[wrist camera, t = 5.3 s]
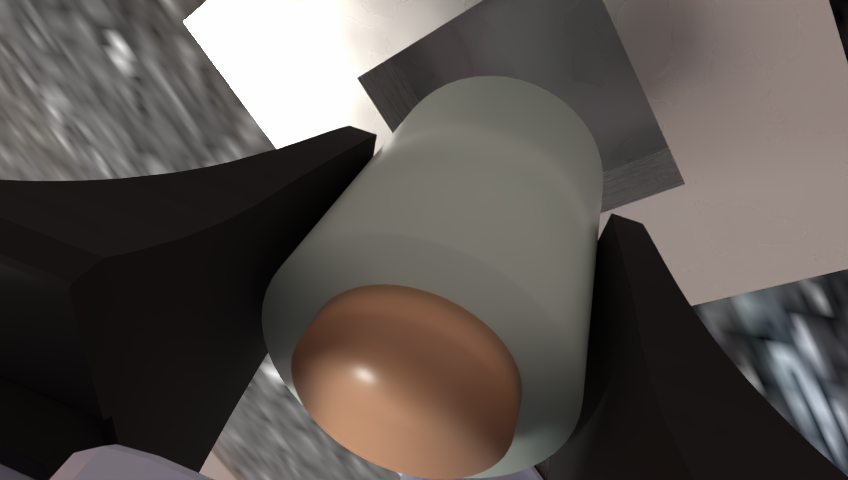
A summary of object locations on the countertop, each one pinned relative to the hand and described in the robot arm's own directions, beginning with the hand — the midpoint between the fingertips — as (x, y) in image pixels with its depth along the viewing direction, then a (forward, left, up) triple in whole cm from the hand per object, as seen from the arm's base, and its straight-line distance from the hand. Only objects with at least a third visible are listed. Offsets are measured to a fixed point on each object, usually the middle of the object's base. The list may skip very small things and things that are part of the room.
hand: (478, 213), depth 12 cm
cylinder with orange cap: (0, 0, -2) cm, 2 cm away
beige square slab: (0, 0, -8) cm, 8 cm away
